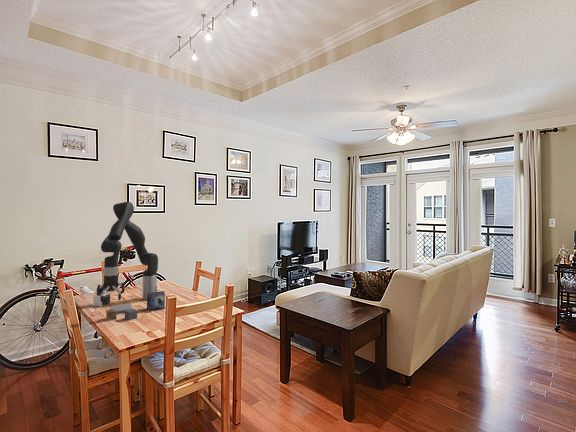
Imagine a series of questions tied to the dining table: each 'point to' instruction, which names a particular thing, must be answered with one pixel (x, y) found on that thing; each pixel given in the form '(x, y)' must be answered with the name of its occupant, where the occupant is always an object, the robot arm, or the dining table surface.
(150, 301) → the small box
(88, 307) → the dining table surface
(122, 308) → the slate coaster
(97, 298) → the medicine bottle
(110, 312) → the walnut cube
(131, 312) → the charcoal block
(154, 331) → the dining table surface
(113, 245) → the robot arm
